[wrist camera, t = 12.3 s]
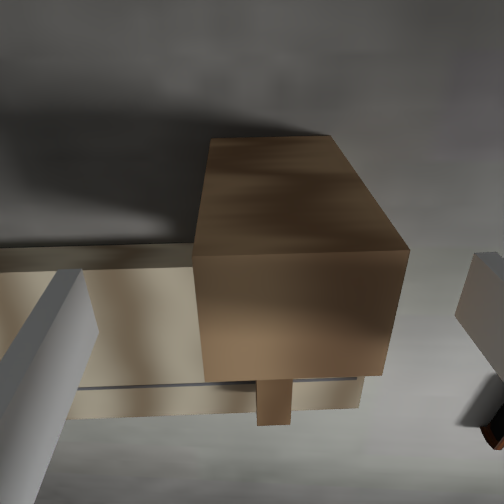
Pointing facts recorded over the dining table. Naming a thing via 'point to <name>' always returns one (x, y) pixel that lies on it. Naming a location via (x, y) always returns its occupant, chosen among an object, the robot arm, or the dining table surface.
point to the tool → (495, 430)
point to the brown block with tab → (292, 268)
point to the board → (143, 334)
